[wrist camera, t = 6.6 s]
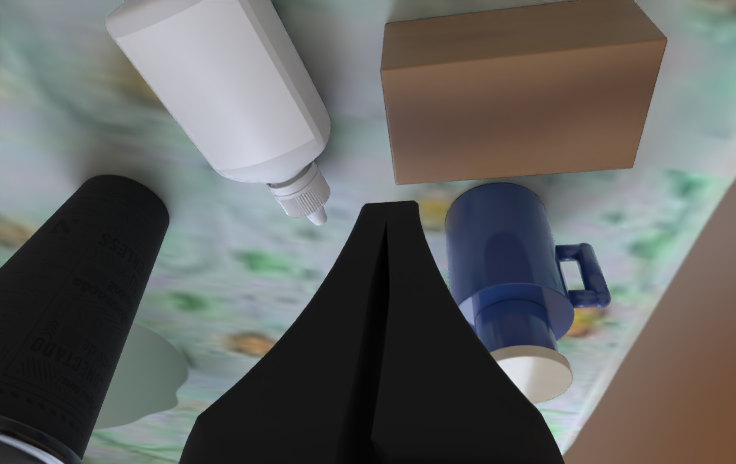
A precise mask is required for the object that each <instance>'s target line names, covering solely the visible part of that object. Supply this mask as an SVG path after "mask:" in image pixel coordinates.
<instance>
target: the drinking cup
mask: <svg viewBox="0 0 736 464" xmlns="http://www.w3.org/2000/svg"><path fill="white" fill-rule="evenodd" d="M168 225H169V216H168V212H167V210H166V207H165V206H164V204H163V203H162V201H161V200H160V199H159V198H158V197H157V196H156V195H155V194H154V193H153V192H152V191H150V190H149V189H148V188H146V187H145V186H143V185H141V184H139V183H137V182H135V181H133V180H130V179H127V178H124V177H120V176H113V175H102V176H97V177H93V178H91V179H89V180H87V181H86V182H85V183H84V184H83V185H82V186H81V187H80V188H79V189H78V190H77V191H76V192H75V193H74V194H73V195H72V196H71V197H70V198H69V199H68V200H67V201H66V202H65V203H64V204H63V205H62V206H61V207H60V208H59V209H58V210H57V211H56V212H55V213H54V214H53V215H52V216H51V217H50V218H49V219H48V220H47V221H46V222H45V223H44V224H43V225H42V226H41V227H40V228H39V229H38V231H37V232H36V233H35V234H34V235H33V236H32V237H31V238H30V239H29V240H28V241H27V242H26V243H25V244H24V245H23V246H22V247H21V248H20V249H19V250H18V251H17V252H16V253H15V254H14V255H13V256H12V257H11V258H10V259H9V260H8V261H7V262H6V263H5V264H4V265H3V266H2V267H1V268H0V464H83V462H82V458H83V455H84V453H85V450H86V447H87V445H88V442H89V439H90V436H91V434H92V431H93V428H94V426H95V423H96V420H97V417H98V415H99V412H100V409H101V406H102V404H103V401H104V399H105V396H106V393H107V390H108V388H109V385H110V382H111V379H112V377H113V374H114V372H115V369H116V366H117V363H118V361H119V358H120V355H121V353H122V350H123V347H124V344H125V341H126V339H127V336H128V333H129V331H130V328H131V325H132V323H133V320H134V317H135V315H136V312H137V309H138V307H139V304H140V301H141V299H142V296H143V293H144V290H145V288H146V285H147V282H148V280H149V277H150V274H151V272H152V269H153V266H154V263H155V261H156V258H157V255H158V253H159V250H160V247H161V245H162V242H163V239H164V236H165V234H166V231H167V228H168Z"/></svg>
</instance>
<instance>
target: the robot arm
mask: <svg viewBox="0 0 736 464" xmlns="http://www.w3.org/2000/svg"><path fill="white" fill-rule="evenodd" d="M179 464H565V463H564V461H563V458H562V455H561V453H560V450H559V448H558V446H557V444H556V441H555V439H554V437H553V435H552V433H551V431H550V429H549V428H548V426H547V424H546V422H545V420H544V418H543V416H542V414H541V413H540V412H539V410H538V409H537V408H536V407H535V406H534V405H533V404H532V403H531V402H530V401H529V400H528V399H527V397H526V396H525V395H524V394H523V393H522V392H521V391H520V390H519V388H518V387H517V386H516V385H515V384H514V383H513V382H512V380H511V379H510V378H509V377H508V375H507V374H506V373H505V372H504V371H503V369H502V368H501V367H500V366H499V365H498V363H497V362H496V361H495V359H494V358H493V357H492V355H491V354H490V353H489V351H488V350H487V348H486V347H485V346H484V344H483V343H482V342H481V340H480V339H479V338H478V336H477V335H476V334H475V332H474V331H473V329H472V328H471V326H470V324H469V323H468V321H467V320H466V318H465V317H464V315H463V314H462V312H461V310H460V309H459V307H458V305H457V304H456V302H455V300H454V299H453V297H452V295H451V293H450V291H449V290H448V288H447V286H446V284H445V282H444V280H443V278H442V276H441V274H440V272H439V270H438V268H437V265H436V263H435V261H434V258H433V256H432V254H431V251H430V249H429V246H428V244H427V241H426V238H425V235H424V232H423V229H422V225H421V221H420V216H419V206H418V203H416V202H415V201H414V200H413V201H398V202H383V203H368V204H365V205H364V206H363V207H362V209H361V211H360V214H359V216H358V219H357V221H356V223H355V225H354V228H353V230H352V232H351V234H350V236H349V238H348V240H347V242H346V244H345V246H344V247H343V249H342V251H341V253H340V255H339V256H338V258H337V260H336V262H335V264H334V265H333V267H332V269H331V270H330V272H329V273H328V275H327V277H326V278H325V280H324V281H323V283H322V284H321V286H320V288H319V289H318V291H317V292H316V294H315V295H314V296H313V298H312V299H311V301H310V302H309V303H308V305H307V306H306V308H305V309H304V310H303V312H302V313H301V314H300V315H299V317H298V318H297V319H296V321H295V322H294V323H293V324H292V325H291V327H290V328H289V329H288V330H287V331H286V332H285V334H284V335H283V336H282V337H281V338H280V340H279V341H278V342H277V343H276V344H275V345H274V346H273V347H272V348H271V349H270V351H269V352H268V353H267V354H266V355H265V356H264V357H263V358H262V359H261V360H260V361H259V362H258V363H257V364H256V365H255V366H254V367H253V368H252V369H251V370H250V371H249V372H248V373H247V374H246V375H245V376H244V377H243V378H242V379H241V380H239V381H238V382H237V383H236V384H235V385H234V386H233V387H232V388H231V389H229V390H228V391H227V392H226V393H225V394H224V395H222V396H221V397H220V398H219V399H218V400H217V401H215V402H214V403H213V404H212V405H211V406H210V407H208V408H207V409H206V410H205V411H204V412H202V413H201V414H200V415H199V416H198V417H197V419H196V422H195V424H194V426H193V428H192V430H191V432H190V434H189V437H188V439H187V441H186V444H185V446H184V449H183V452H182V455H181V458H180V461H179Z"/></svg>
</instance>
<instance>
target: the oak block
mask: <svg viewBox="0 0 736 464" xmlns="http://www.w3.org/2000/svg"><path fill="white" fill-rule="evenodd" d="M666 43H667V38H666V36H665V35H664V34H663V33H662V32H661V31H660V30H659V29H658V27H657V26H656V25H655V24H654V23H653V22H652V21H651V20H650V18H649V17H648V16H647V15H646V14H645V13H644V12H643V11H642V9H641V8H640V7H639V6H638V5H637V4H636V3H635V2H634V0H577V1H568V2H560V3H552V4H544V5H535V6H527V7H519V8H510V9H502V10H494V11H486V12H477V13H469V14H461V15H453V16H444V17H436V18H428V19H419V20H411V21H403V22H395V23H387V24H385V30H384V40H383V49H382V59H381V68H380V73H381V80H382V88H383V95H384V102H385V110H386V117H387V125H388V132H389V139H390V147H391V154H392V162H393V169H394V176H395V183H396V185H404V184H418V183H432V182H446V181H460V180H474V179H488V178H502V177H515V176H529V175H543V174H557V173H571V172H585V171H599V170H613V169H626V168H632V167H633V164H634V161H635V157H636V153H637V150H638V146H639V142H640V139H641V135H642V131H643V128H644V124H645V120H646V117H647V113H648V109H649V106H650V102H651V98H652V95H653V91H654V87H655V84H656V80H657V76H658V73H659V69H660V65H661V62H662V58H663V54H664V51H665V47H666Z"/></svg>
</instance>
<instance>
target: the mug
mask: <svg viewBox="0 0 736 464" xmlns="http://www.w3.org/2000/svg"><path fill="white" fill-rule="evenodd" d="M445 232H446V247H447V263H448V278H449V291H450V293H451V295H452V297H453V299H454V300H455V302H456V304H457V305H458V307H459V309H460V310H461V312H462V314H463V315H464V317H465V318H466V320H467V321H468V323H469V324H470V326H471V328H472V329H473V331H474V332H475V334H476V335H477V336H478V338H479V339H480V340H481V342H482V343H483V344H484V346H485V347H486V348H487V350H488V351H489V353H490V354H491V355H492V357H493V358H494V359H495V361H496V362H497V363H498V365H499V366H500V367H501V368H502V369H503V371H504V372H505V373H506V374H507V375H508V377H509V378H510V379H511V380H512V382H513V383H514V384H515V385H516V386H517V387H518V388H519V390H520V391H521V392H522V393H523V394H524V395H525V396H526V397H527V399H528V400H529V401H530V402H531V403H532V404H535V403H540V402H544V401H547V400H550V399H553V398H555V397H557V396H559V395H561V394H562V393H564V392H565V391H566V390H567V389H568V388H569V387H570V385H571V383H572V379H573V375H572V371H571V367H570V364H569V362H568V360H567V359H566V358H565V357H564V356H563V355H562V354H560V353H559V352H558V348H557V343H556V341H557V340H558V339H560V338H561V337H562V336H563V335H564V334H566V333H567V331H568V330H569V329H570V327H571V325H572V323H573V320H574V308H594V307H596V308H605V307H607V306H608V305H609V303H610V301H611V297H610V293H609V291H608V288H607V285H606V282H605V279H604V277H603V274H602V271H601V268H600V266H599V263H598V260H597V257H596V255H595V252H594V249H593V247H592V246H591V245H590V244H588V243H580V244H573V245H555V242H554V238H553V235H552V232H551V228H550V225H549V221H548V218H547V214H546V211H545V208H544V205H543V203H542V201H541V200H540V199H539V197H538V196H537V195H535V194H534V193H533V192H532V191H530V190H528V189H526V188H524V187H522V186H519V185H515V184H509V183H493V184H487V185H482V186H479V187H476V188H474V189H472V190H469V191H468V192H466V193H464V194H463V195H461V196H460V197H459V198H458V199H457V200H456V201H455V202H454V203H453V204H452V205H451V207H450V208H449V210H448V212H447V215H446V219H445ZM565 261H576V262H577V265H578V268H579V271H580V275H581V278H582V281H583V284H584V287H585V290H568V287H567V284H566V280H565V277H564V273H563V270H562V266H561V263H560V262H565Z"/></svg>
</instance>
